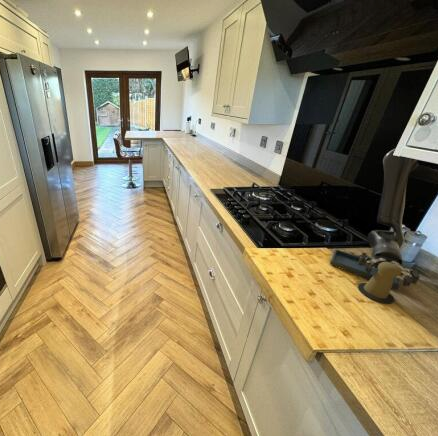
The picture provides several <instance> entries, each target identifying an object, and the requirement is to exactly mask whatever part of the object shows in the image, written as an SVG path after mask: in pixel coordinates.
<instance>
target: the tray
mask: <svg viewBox="0 0 438 436" xmlns="http://www.w3.org/2000/svg"><path fill="white" fill-rule="evenodd" d="M359 258H360V256H359V255H355V254H353V253H349V252H346V251H343V250H340V249H338V248H335V249H334V251H333V253H332V255H331V259H330V262H329V265H330V264H332V265H331V266H333V265H334V266H333V267H335V266H337V267H336V268H338V267H340V268H339V269H341V268H343V269H342V270H344V269H345V270H344V271H346V270H348V271H347V272H349V271H350V272H349V273H352V272H353V273H352V274H354V273H355V274H354V275H358V276H360V277H363V278H365V279H369V280H370V279H371V278H372V277H373V276H374V274H375V273H376V272H377V271H378V269H372V271H371V272H370V274H368V273H367V272H366V271H365V267H364V266H363V265H362V266H361V265H358V261H359ZM366 261H370V260H366ZM400 280H401V279H400V278H396V277H395V279H394V282H393V284H392V287H391V289H392V288H393V289H395V290H398V288H399V287H400V285H401V283H400V282H401V281H400Z"/></svg>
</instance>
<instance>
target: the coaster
mask: <svg viewBox="0 0 438 436" xmlns="http://www.w3.org/2000/svg"><path fill="white" fill-rule="evenodd" d="M366 283H367V282H360V283H359V284H358V285H357V289H358V291H359V292H360V293H361V294H362V295H363V296H365V297H366V298H368V299H370V300H372V301H374V302H376V303H379V304H383V305H392V304H393V303H394V302H395V297H394V296H393V295H392V294H391V293H390V292H389V295H388V297H387V298H385V299H383V298H378V297H375V296H373V295H371V294H369V293H368V292H366V291H365V289H364V286H365V285H366Z"/></svg>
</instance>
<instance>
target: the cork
mask: <svg viewBox="0 0 438 436" xmlns="http://www.w3.org/2000/svg"><path fill="white" fill-rule="evenodd" d="M400 274H401V268H400V267H399V266H397V265H395V264H393V263H390V262H382V263H380V264H379V265H378V271H377V272H376V273H375V274H374V276H373V277H372V278H371V279H369V280H368V281H367V282H365V283H366V285H365V286H364V289H365V291H366V292H368V293H369V294H371V295H373V296H375V297H378V298H383V299H385V298H387V297H388V295H389V293H390V292H391V290H392V284H393V282H394V279H395V277H398V276H399V275H400Z"/></svg>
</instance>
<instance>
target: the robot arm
mask: <svg viewBox="0 0 438 436" xmlns="http://www.w3.org/2000/svg"><path fill="white" fill-rule="evenodd" d="M395 149H396V148H393V149H392V150H390V151H389V152H387V153H386V154H385V155H384V157H383V159H382V165H383V187H382V192H381V193H382V194H381V197H380V200H379V205H378V211H377V217H376V222H377V223H378V224H380V225H383V226H387V227H390V228H391V229H392V231H391V230H382V229H373V230H371V231H370V232H369V233H368V234H367V244H368V245H369V246H370V247H371V248H372V251H371V253H370V254H371V256H369V255H368V253H366V252H361V255H360V256H359V257H360V258H359V261H358V265H361V266H362V265H363V266H364V267H365V271H366V272H367V273H368V274H370V272H371V271H372V269H378V265H379V264H380V263H382V262H390V263H393V264H395V265H397V266H399V267H400V268H401V274H400V275H399V276H398V277H396V278H399V280H401V284H402V287H405V288H407V287H410V286H411V285H416V284H417V283H418V281H419V280H420V279H421V276H420V274H419V272H418V269H417V268H414V267H411V268H410V269H409V268H406V267H405V266H404V265H403V257H402V252H401V248H400V247H401V245H402V243H403V241H404V239H405V236H404V232H403V231H404V230H403V217H404V211H405V205H406V192H407V183H408V181H409V177H410V178H413V179H417V180H422V181H424V182H427V183H430V182H431V184H432V183H434V184H433V185H435V184H438V170H437V169H432V168H430V167H427V166H423V165H419V164H418V163H417V162H418V160H414V159H409V158H404V157H396V156H393V153H394V151H395ZM399 248H400V249H399ZM366 260H370V261H366Z"/></svg>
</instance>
